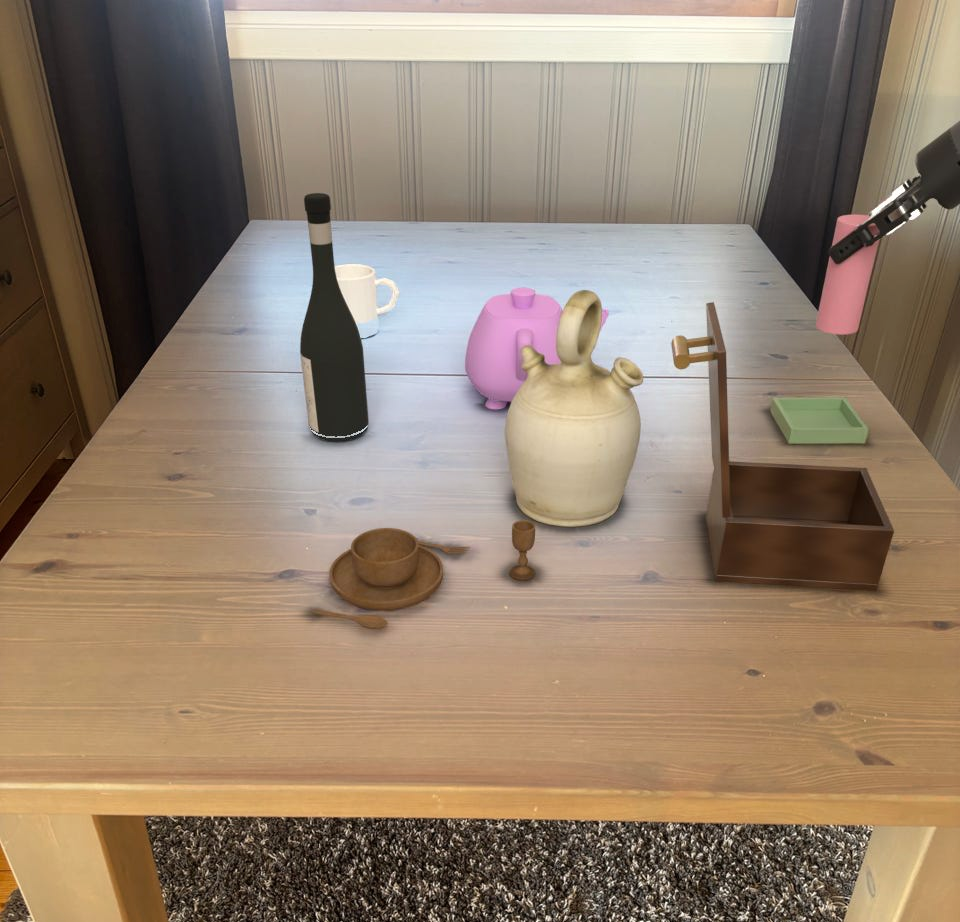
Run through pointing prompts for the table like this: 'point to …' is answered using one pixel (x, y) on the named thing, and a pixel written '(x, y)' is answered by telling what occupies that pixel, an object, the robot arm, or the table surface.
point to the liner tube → (846, 282)
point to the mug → (363, 291)
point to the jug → (573, 425)
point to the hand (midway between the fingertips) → (838, 251)
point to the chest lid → (712, 396)
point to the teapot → (511, 342)
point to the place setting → (402, 570)
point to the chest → (799, 527)
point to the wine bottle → (330, 341)
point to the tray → (818, 420)
